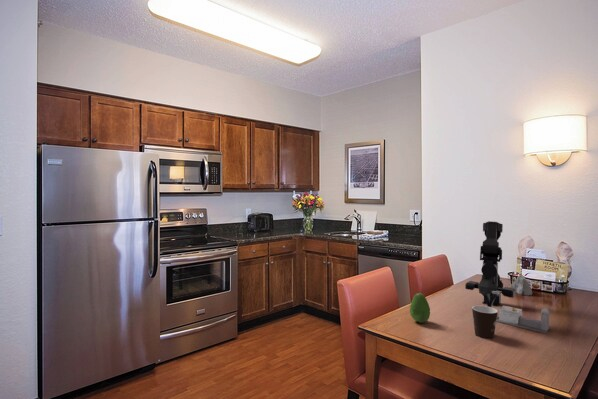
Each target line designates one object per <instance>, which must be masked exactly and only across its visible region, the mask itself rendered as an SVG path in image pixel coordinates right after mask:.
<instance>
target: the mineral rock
mask: <svg viewBox="0 0 598 399" xmlns="http://www.w3.org/2000/svg"><path fill="white" fill-rule="evenodd" d="M510 288H514V289H515V290H516V294H517V295H520V296H532V295H533V291H532V287H531V285H530V283H529V281H528V280H527V279H526V278H525V276H524V275H523V274H519V275H518V276H517V277H516V279H515V280H513V282H512V283H511V285H510Z"/></svg>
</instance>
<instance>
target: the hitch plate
mask: <svg viewBox="0 0 598 399" xmlns="http://www.w3.org/2000/svg"><path fill="white" fill-rule="evenodd" d="M540 313H541V314H540V320H538V319H534V318H533V319H532V318H529V317H524V316H522V317H519V325H515V324H511V323H507V322H503V321H499V316H497V320H496V323H499V324H505V325H509V326H513V327H517V328H520V327H521V328H520V329H524V330H530V331H533V332H538V333H542V334H547V333H548V331H549V330H550V327H551V326H550V310H549V309H548V308H546V307H543V308H542V309H541V310H540Z"/></svg>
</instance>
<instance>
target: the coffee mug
mask: <svg viewBox="0 0 598 399" xmlns="http://www.w3.org/2000/svg"><path fill="white" fill-rule="evenodd" d="M471 310H472V319H473V326H474V327H473V328H474V335H475V336H477V337H478V338H481V339H486V340H489V339H490V340H492V339H494V338H495V334H496V333H495V332H496V325H497V322H496V320H497V318H498V314H499V310H498V309H497V308H495V307H493V306H492V307H488V306H487V305H473V306H472V307H471Z"/></svg>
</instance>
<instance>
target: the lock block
mask: <svg viewBox="0 0 598 399" xmlns="http://www.w3.org/2000/svg"><path fill="white" fill-rule="evenodd" d="M498 317H499V321H503V322H507V323H511V324H515V325H519V317H523V309H522V308H518V307H517V308H516V307H512V306H507V305H502V306H501V307H499V309H498Z"/></svg>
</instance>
